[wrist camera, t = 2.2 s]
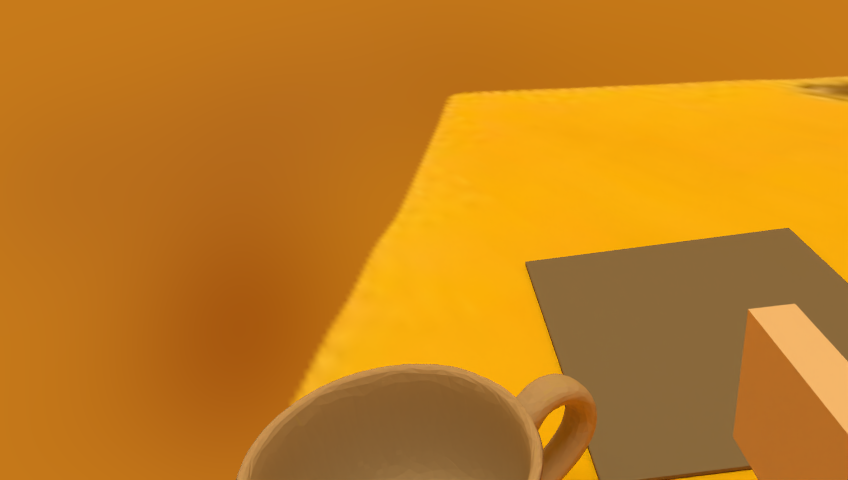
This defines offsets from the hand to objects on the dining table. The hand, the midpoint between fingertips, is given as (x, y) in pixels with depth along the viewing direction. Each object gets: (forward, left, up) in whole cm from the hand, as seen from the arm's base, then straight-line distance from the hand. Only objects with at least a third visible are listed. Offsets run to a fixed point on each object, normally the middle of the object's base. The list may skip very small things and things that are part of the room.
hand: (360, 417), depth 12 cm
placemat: (-17, -24, -18) cm, 34 cm away
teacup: (-1, -10, -18) cm, 20 cm away
